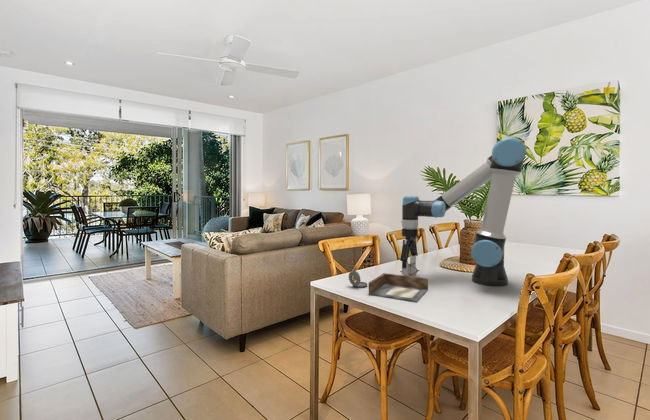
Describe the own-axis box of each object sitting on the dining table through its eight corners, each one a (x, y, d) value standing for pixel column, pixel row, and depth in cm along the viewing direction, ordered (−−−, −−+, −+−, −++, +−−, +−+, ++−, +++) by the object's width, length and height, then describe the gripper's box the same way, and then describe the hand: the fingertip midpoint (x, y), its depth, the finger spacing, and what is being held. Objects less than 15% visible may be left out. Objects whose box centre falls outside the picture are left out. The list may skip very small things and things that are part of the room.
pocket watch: (368, 284, 155) (368, 262, 154) (365, 289, 147) (365, 267, 146) (350, 283, 157) (350, 262, 157) (347, 288, 149) (346, 266, 148)
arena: (427, 290, 145) (428, 278, 145) (416, 302, 130) (416, 289, 129) (383, 284, 155) (383, 273, 155) (368, 294, 140) (368, 282, 139)
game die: (411, 285, 165) (421, 268, 167) (414, 284, 157) (424, 265, 159) (395, 275, 167) (405, 258, 169) (397, 273, 159) (407, 255, 161)
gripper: (409, 225, 174) (408, 265, 176) (393, 230, 153) (393, 276, 154) (424, 226, 171) (423, 267, 172) (410, 231, 149) (409, 278, 151)
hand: (408, 271), depth 163 cm, fingers open, 13 cm apart
